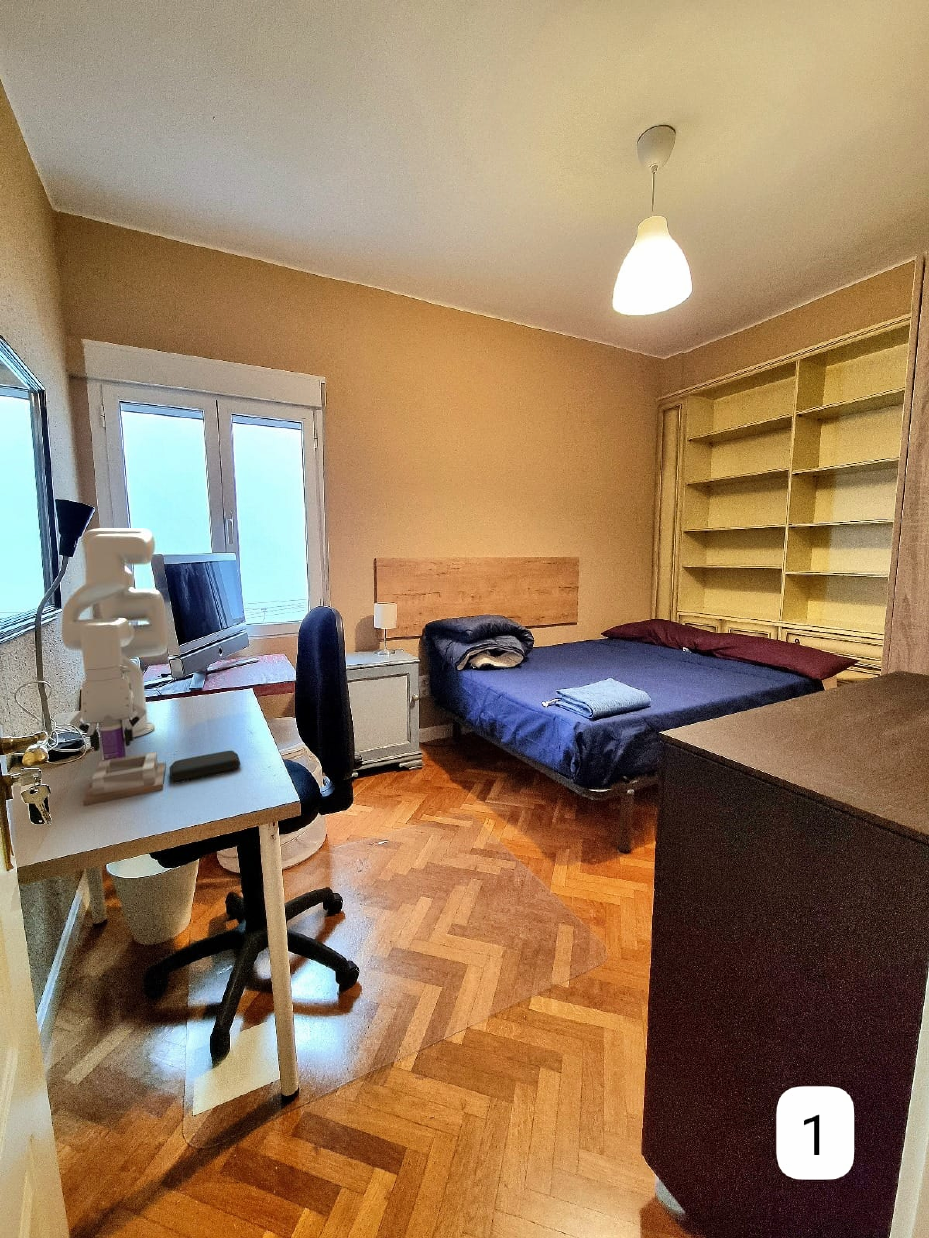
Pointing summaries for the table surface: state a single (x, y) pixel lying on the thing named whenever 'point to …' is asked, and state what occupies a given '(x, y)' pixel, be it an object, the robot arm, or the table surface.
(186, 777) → the carrying case or bag
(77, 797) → the table surface
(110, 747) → the container
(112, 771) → the mount
